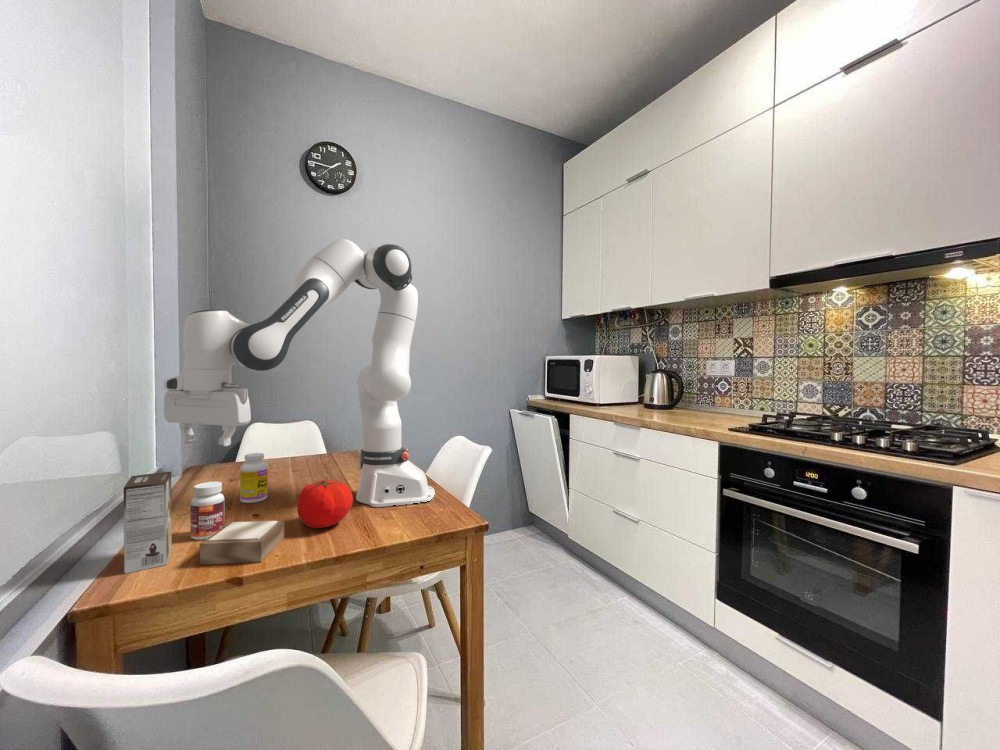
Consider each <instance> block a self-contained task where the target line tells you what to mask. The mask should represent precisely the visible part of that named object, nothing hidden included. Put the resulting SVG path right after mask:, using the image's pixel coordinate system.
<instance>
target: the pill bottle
mask: <svg viewBox="0 0 1000 750" xmlns="http://www.w3.org/2000/svg"><path fill="white" fill-rule="evenodd" d="M222 491H223V483H222V481H206V482H202V483H201V482H200V483H198V484H195V485H193V496H194V497H192V499H191V500H190V538H191V539H192V540H195V541H197V540H198V541H201V540H202V541H204V540H206V539H207V538H209V537H210V536H212V535H213V534H214V533H216V532H217V531H219V530H220V529H221V528H223V527H224V526H225V496H224V494H223V493H221V492H222Z"/></svg>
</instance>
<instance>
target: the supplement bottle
mask: <svg viewBox="0 0 1000 750" xmlns="http://www.w3.org/2000/svg"><path fill="white" fill-rule="evenodd" d="M264 458H265V454H264V453H262V452H253V453H247V454H245V455H244V463H243V464H242V465H241V466H240V469H239V470H240V475H239V479H240V480H239V481H240V482H239V500H240V502H241V503H244V504H254V503H259V502H263V501H265V500H266V499H267V498H268V492H269V491H268V488H269V487H268V485H269V484H268V483H269V482H268V480H269V478H268V477H269V475H268V474H269V473H268V472H269V471H268V470H269V465H268V464H267V462H266V461H265V462H264Z"/></svg>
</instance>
